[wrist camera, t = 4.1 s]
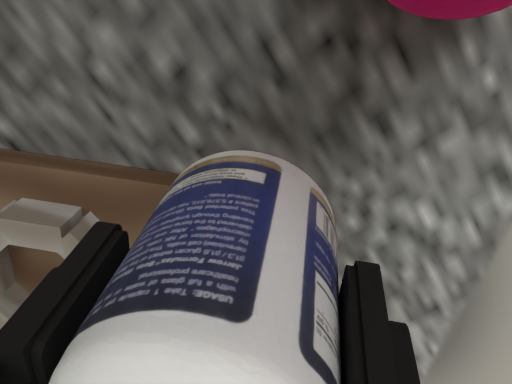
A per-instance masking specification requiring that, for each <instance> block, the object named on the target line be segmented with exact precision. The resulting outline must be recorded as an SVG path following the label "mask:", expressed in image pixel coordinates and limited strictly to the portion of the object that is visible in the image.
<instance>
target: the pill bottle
mask: <svg viewBox="0 0 512 384" xmlns="http://www.w3.org/2000/svg"><path fill="white" fill-rule="evenodd" d="M48 384H341V356H340V322H339V292H338V259H337V237H336V228H335V221H334V216H333V212H332V209H331V207H330V204H329V202H328V200H327V198H326V196H325V195H324V193H323V192H322V190H321V189H320V188H319V186H318V185H317V184H316V183H315V182H314V181H313V180H312V179H311V178H310V177H309V176H308V175H307V174H306V173H305V172H303V171H302V170H301V169H299V168H298V167H296V166H295V165H293V164H291V163H289V162H287V161H285V160H283V159H281V158H278V157H275V156H272V155H269V154H265V153H261V152H255V151H244V150H234V151H225V152H220V153H216V154H213V155H210V156H207V157H205V158H202V159H200V160H198V161H197V162H195V163H193V164H192V165H191V166H189V167H188V168H187V169H185V170H184V171H183V172H182V173H181V174H180V175H179V176H178V177H177V179H176V180H175V181H174V182H173V184H172V185H171V186H170V188H169V189H168V190H167V192H166V193H165V195H164V196H163V198H162V200H161V201H160V203H159V205H158V206H157V208H156V209H155V211H154V212H153V214H152V215H151V217H150V219H149V220H148V222H147V223H146V225H145V226H144V228H143V230H142V231H141V233H140V234H139V236H138V238H137V239H136V241H135V242H134V244H133V246H132V247H131V249H130V250H129V252H128V253H127V255H126V257H125V258H124V260H123V261H122V263H121V264H120V266H119V267H118V269H117V270H116V272H115V273H114V275H113V277H112V278H111V280H110V281H109V283H108V284H107V286H106V287H105V289H104V291H103V292H102V294H101V295H100V297H99V298H98V300H97V302H96V303H95V305H94V306H93V308H92V309H91V311H90V312H89V314H88V315H87V317H86V319H85V320H84V322H83V323H82V325H81V326H80V328H79V329H78V331H77V332H76V334H75V336H74V337H73V339H72V340H71V342H70V344H69V345H68V347H67V349H66V350H65V352H64V354H63V356H62V358H61V360H60V361H59V363H58V365H57V366H56V368H55V370H54V372H53V374H52V376H51V378H50V381H49V383H48Z"/></svg>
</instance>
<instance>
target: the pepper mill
mask: <svg viewBox="0 0 512 384" xmlns="http://www.w3.org/2000/svg"><path fill="white" fill-rule="evenodd" d="M387 1H388V2H390V3H391V4H392V5H394V6H396V7H398V8H400V9H402V10H404V11H406V12H408V13H411V14H414V15H418V16H421V17H426V18H434V19H465V18H473V17H479V16H482V15H485V14H489V13H492V12H496V11H499V10H502V9H504V8H506V7H508V6H510V5H512V0H387Z"/></svg>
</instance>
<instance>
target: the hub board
mask: <svg viewBox="0 0 512 384" xmlns="http://www.w3.org/2000/svg"><path fill="white" fill-rule="evenodd" d="M179 175H180V174H175V173H168V172H161V171H154V170H147V169H140V168H133V167H126V166H120V165H113V164H106V163H99V162H92V161H85V160H78V159H71V158H64V157H57V156H50V155H43V154H36V153H29V152H22V151H15V150H8V149H1V148H0V329H1V328H2V327H3V326H4V325H5V323H6V322H7V321H8V320H9V319H10V318H11V316H12V315H13V314H14V313H15V312H16V311H17V309H18V308H19V307H20V306H21V305H22V303H23V302H24V301H25V300H26V299H27V298H28V296H29V295H30V294H31V293H32V292H33V290H34V289H35V288H36V287H37V286H38V285H39V283H40V282H41V281H42V280H43V279H44V278H45V276H46V275H47V274H48V273H49V272H50V271H51V270H52V269H53V268H55V267H59V266H60V265H61V263H62V262H63V261H64V260H65V259H66V257H67V256H68V255H69V254H70V253H71V251H72V250H73V249H74V248H75V247H76V245H77V244H78V243H79V242H80V241H81V239H82V238H83V237H84V236H85V235H86V233H87V232H88V231H89V230H90V229H91V227H92V226H93V225H94V224H95V223H96V222H98V221H102V222H108V223H115V224H120V225H121V226H122V230H123V231H127V232H128V236H129V247H130V249H131V247H132V246H133V244H134V242H135V241H136V239H137V238H138V236H139V234H140V233H141V231H142V230H143V228H144V226H145V225H146V223H147V222H148V220H149V219H150V217H151V215H152V214H153V212H154V211H155V209H156V208H157V206H158V205H159V203H160V201H161V200H162V198H163V196H164V195H165V193H166V192H167V190H168V189H169V188H170V186H171V185H172V184H173V182H174V181H175V180H176V179H177V177H178V176H179Z"/></svg>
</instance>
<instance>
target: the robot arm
mask: <svg viewBox="0 0 512 384" xmlns="http://www.w3.org/2000/svg"><path fill="white" fill-rule="evenodd" d="M129 250H130V247H129V236H128V232H127V231H123V230H122V226H121V225H120V224H115V223H108V222H102V221H98V222H96V223H95V224H94V225H93V226H92V227H91V229H90V230H89V231H88V232H87V233H86V235H85V236H84V237H83V238H82V239H81V241H80V242H79V243H78V244H77V245H76V247H75V248H74V249H73V250H72V251H71V253H70V254H69V255H68V256H67V257H66V259H65V260H64V261H63V262H62V263H61V265H60V266H59V267H55V268H53V269H52V270H51V271H50V272H49V273H48V274H47V275H46V276H45V278H44V279H43V280H42V281H41V282H40V283H39V285H38V286H37V287H36V288H35V289H34V290H33V292H32V293H31V294H30V295H29V296H28V298H27V299H26V300H25V301H24V302H23V303H22V305H21V306H20V307H19V308H18V309H17V311H16V312H15V313H14V314H13V315H12V316H11V318H10V319H9V320H8V321H7V322H6V323H5V325H4V326H3V327H2V328H1V329H0V384H48V383H49V381H50V378H51V376H52V374H53V372H54V370H55V368H56V366H57V365H58V363H59V361H60V360H61V358H62V356H63V354H64V352H65V350H66V349H67V347H68V345H69V344H70V342H71V340H72V339H73V337H74V336H75V334H76V332H77V331H78V329H79V328H80V326H81V325H82V323H83V322H84V320H85V319H86V317H87V315H88V314H89V312H90V311H91V309H92V308H93V306H94V305H95V303H96V302H97V300H98V298H99V297H100V295H101V294H102V292H103V291H104V289H105V287H106V286H107V284H108V283H109V281H110V280H111V278H112V277H113V275H114V273H115V272H116V270H117V269H118V267H119V266H120V264H121V263H122V261H123V260H124V258H125V257H126V255H127V253H128V252H129ZM339 322H340V356H341V384H420V380H419V375H418V370H417V365H416V361H415V356H414V351H413V346H412V342H411V337H410V332H409V329H408V326H407V325H406V324H405V323H399V322H393V321H388V315H387V308H386V302H385V296H384V290H383V284H382V277H381V271H380V266H379V264H375V263H369V262H362V261H355V263H354V266H349V265H346V268H345V271H344V275H343V279H342V284H341V288H340V292H339Z"/></svg>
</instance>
